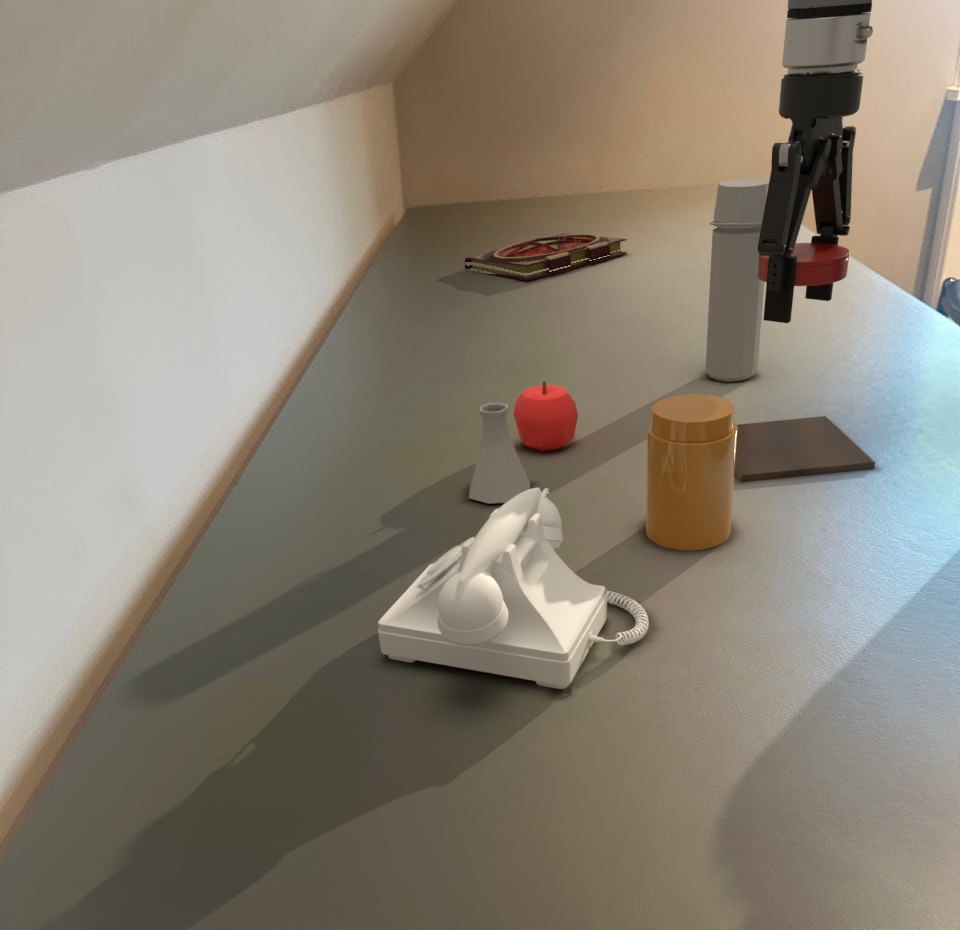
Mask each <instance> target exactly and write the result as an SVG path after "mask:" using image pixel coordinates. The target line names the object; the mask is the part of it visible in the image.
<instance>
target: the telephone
mask: <svg viewBox="0 0 960 930" xmlns="http://www.w3.org/2000/svg"><path fill="white" fill-rule="evenodd" d="M547 495H550V489H549V488H548V487H545V488H544V489H543V490H541V487H533V488H530V489H529V490H526V491H524V492H522V493H520V494H518V495H516V496H515V497H513V498H512V499H510V500H509V501H507V502H506V503H503V504H502V505H501V506H500V507H498V508H495V509H494V510H493V511H492V512H491V513H490V514H489V517H488V519H487V520H486V521H485V523H484V524H483V526H482V527H481V528H480V529H479V531H478V533H477V534H476V536H472V537H470V538H467V540H465V541H463V542H462V543H460V544H459V545H455V546H454V547H452V548H450V549H449V550H448V551H446V552H445V553H444V554H443V555H442V556H440V557H439V558H438V559H437V560H436V561H435V562H433V563H430V564H429V565H428V566H427V567H426V568H425V569H424V570H423V571H422V573H420V575H419V576H418V577H417V578H416V579H415V580H414V581H413V583H411V585H410V586H409V587H408V588H407V589H406V590H405V592H403V593H402V594H401V596H400V597H399V598H398V599H397V600H396V601H395V602H394V604H392V605H391V606H390V608H389V609H388V610H387V611H386V612H385V613H384V614H383V615H382V616H381V618H380V619H379V620H378V621H377V625H378V626H377V627H378V629H377V633H378V640H379V646H380V652H381V654H382V655H386V656H387V657H388V658H389V659H390V660H394V661H400V662H405V663H414V662H416V661H420V662H425V663H430V664H435V665H443V666H447V667H453V668H459V669H463V670H464V669H465V670H471V671H477V672H481V673H487V674H493V675H498V676H505V677H511V678H516V679H522V680H527V681H532V682H533V681H534V682H535V684H536V685H537V686H540V687H546V688H552V689H558V690H564V689H567V687H568V686H569V685H570V684H571V683H572V682H573V680H574V678H575V676H576V675H577V673H578V671H579V669H580V667H581V666H582V664H583V662H584V661H585V659H586V657H587V655H588V653H589V652H590V648H592V647H593V644H594V643H604V642H605V643H613V642H614V643H615V642H616V643H617V644H618V645H619V646H627V645H632V644H634V643H636V642H638V641H640V640H642V639H643V638H644V637H645V635H646V634H647V632H648V630H649V625H650V624H649V616H648V613H647V612H646V610H645V609H644V607H643V606H642V605H641V604H640V603H638V602H637V601H636V600H634V599H633V598H631V597H629V596H626V595H624V594H622V593H620V592H619V593H618V592H616V591H611V590H607V588H606V587H605V585H599V584H593V583H590V582H587V581H586V580H584V579H583V578H581V577H580V576H579V575H577V573H575V572H574V571H573V570H572V569H571V568H570V567H569V566H568V565H567V564H566V563H565V562H564V561H563V560H562V559H561V557H560V556H559V555H558V554H557V552H556V551H555V549H558V548H559V547H560V546H561V545H562V544H563V541H564V539H563V524H562V518H561V514H560V512H559V509H558V508H557V506H556V505H555V504H554V503H553V502H552V501H551V500H550V499H549V498H550V497H549V496H547ZM608 604H610V605H613V606H616V607H619V608H621V609H623V610H624V611H627V612H628V613H629V614H631V615H632V617H633V618H634V620H635V625H634V627H632V628H631V629H628V630H626V631H621V632H616V633H615V639H605V638H604V637H600V636H598V635H599V633H600V632H601V630H602V628H603V626H604V625H605V624H606V621H607V619H608Z"/></svg>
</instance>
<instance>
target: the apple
mask: <svg viewBox="0 0 960 930" xmlns="http://www.w3.org/2000/svg"><path fill="white" fill-rule="evenodd" d="M576 404H577V403H576V401H575V400H574V399H573V398H572V396H571V395H570V394H569V392H568V390H567V389H566V388H565V386H560V385H552V384H547V381H545V380H543V381H542V385H536V386H531V387H529V388H527V389H525V390H523V391H522V392H521V393H520V395H519V397H518V398H517V399H516V401H515V403H514V410H513V417H514V420H515V421H514V422H515V424H516V429H517V432H518V436H519V439H520V441H521V442H522V444H523V445H525V446H527V447H528V448H530V449H532V450H535V451H540V452H543V453H544V452H549V451H555V450H558V449H560V448H563V447H564V446H566V445H567V444H568V443H569V442H571V441H572V440H573V439H574V438H575V434H576V428H577V424H578V423H577V422H578V416H579V413H578V409H577V405H576Z"/></svg>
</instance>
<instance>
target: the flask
mask: <svg viewBox="0 0 960 930" xmlns="http://www.w3.org/2000/svg"><path fill="white" fill-rule="evenodd" d="M508 413H509V404H508V403H504V402H497V401H496V402H487V403H484V404H482V405H481V406H479V415H480V416H481V417H482V440H481V443H480V448H479V451H478V457H477V460H476V464H475V467H474V471H473V475H472V478H471V480H470V481H471V482H470V485H469V493H468V499H471V500H473V501H477V502H481V503H485V504H488V505H489V504H505V503H506V502H507V501H509V500H510V499H512V498H513V497H515V496H516V495H518V494H520V493H522V492H524V491H526V490H529V489H531V481H530V479H529V477H528V474H527V473H526V470H525V468H524V465H523V464H522V462H521V460H520V457H519V456H518V453H517V450H516V447H515V446H514V443H513V441H512V438H511V435H510V434H511V433H510V431H509V428H508V422H507V421H508V420H507V414H508Z"/></svg>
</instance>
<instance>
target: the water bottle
mask: <svg viewBox="0 0 960 930" xmlns="http://www.w3.org/2000/svg"><path fill="white" fill-rule="evenodd" d="M769 181H770V179H765V178H736V179H735V178H734V179H729V180H724V181H721V182H718V185H717V191H716V197H715V198H716V199H715V205H714V213H713V220H712V221H711V222H710V223H709V225H710V226H713V227H715V228H713V229H712V235H711V251H710V252H711V253H710V254H711V257H710V273H709V291H708V292H709V294H708V312H707V332H706V351H705V372H706V374H707V376H708V378H711V379H713V380H716V381H718V382H725V383H726V382H727V383H733V382H741V381H746V380H748V379H750V378H752V377H753V376H754V375H755V374H756V373H757V372H758V364H759V354H760V341H761V330H762V329H761V328H762V316H763V303H764V290H765V282H763V281H761V280H760V279H758V277H757V272H758V259H759V253H758V242H759V237H760V231H761V226H762V220H763V214H764V209H765V203H766V197H767V192H768V186H769Z"/></svg>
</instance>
